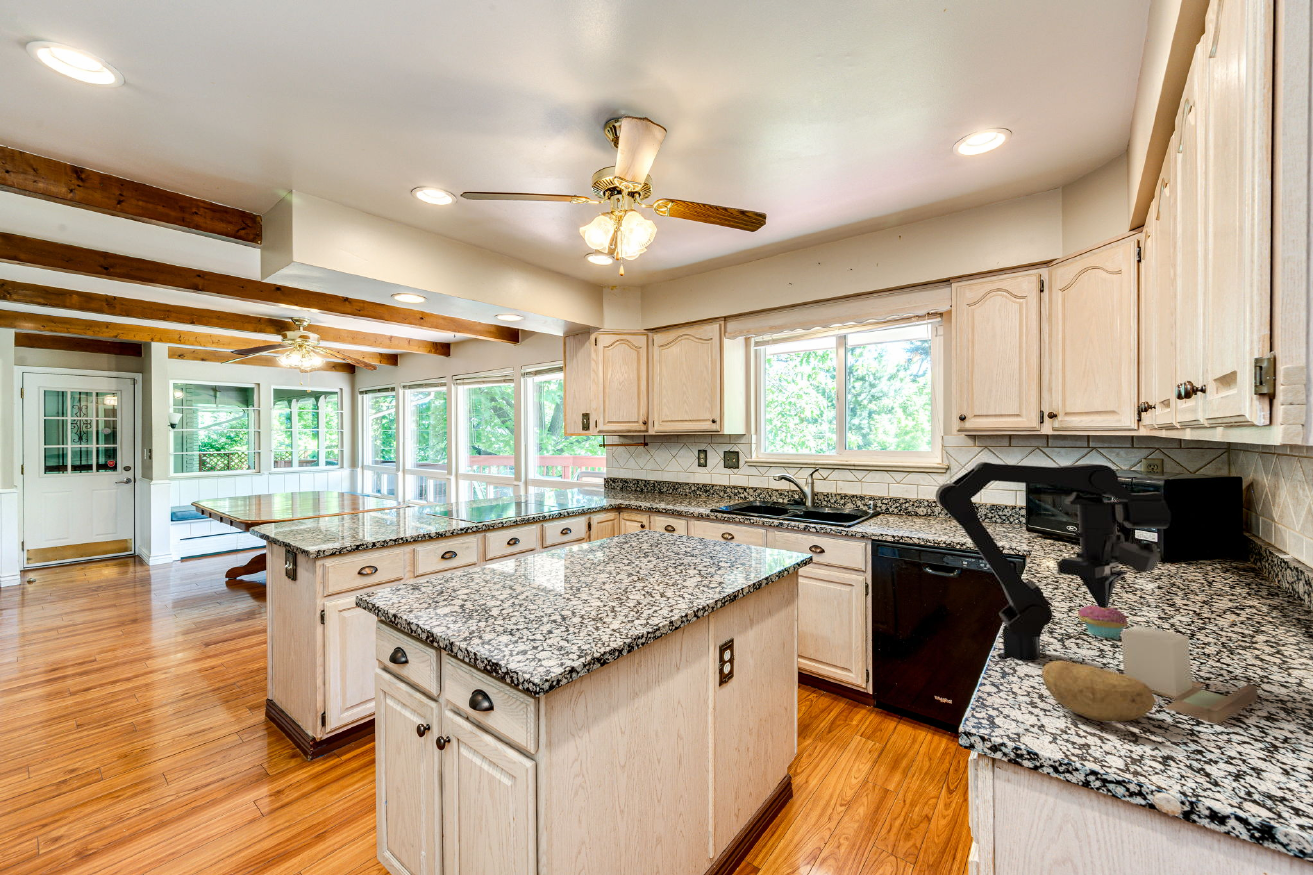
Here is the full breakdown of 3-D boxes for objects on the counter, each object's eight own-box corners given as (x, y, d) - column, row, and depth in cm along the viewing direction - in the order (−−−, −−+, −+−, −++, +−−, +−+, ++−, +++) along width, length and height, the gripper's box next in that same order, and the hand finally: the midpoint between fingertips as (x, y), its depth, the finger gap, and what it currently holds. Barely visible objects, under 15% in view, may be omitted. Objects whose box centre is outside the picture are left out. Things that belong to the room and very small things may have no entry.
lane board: (1097, 691, 93) (1096, 674, 93) (1141, 671, 100) (1140, 655, 100) (1217, 731, 79) (1216, 711, 79) (1258, 704, 86) (1256, 686, 86)
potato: (1158, 746, 76) (1154, 690, 76) (1039, 715, 86) (1036, 666, 86) (1157, 719, 83) (1153, 668, 83) (1048, 693, 93) (1045, 648, 93)
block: (1124, 681, 94) (1121, 631, 94) (1140, 673, 97) (1137, 625, 97) (1176, 696, 88) (1172, 643, 88) (1191, 688, 90) (1188, 636, 91)
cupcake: (1138, 645, 112) (1134, 589, 113) (1093, 644, 114) (1090, 589, 114) (1112, 631, 121) (1109, 579, 121) (1070, 630, 122) (1067, 579, 123)
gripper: (1124, 536, 92) (1131, 626, 91) (1173, 527, 100) (1180, 610, 99) (1053, 529, 102) (1058, 610, 101) (1103, 522, 110) (1108, 597, 109)
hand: (1103, 607), depth 102 cm, fingers closed
